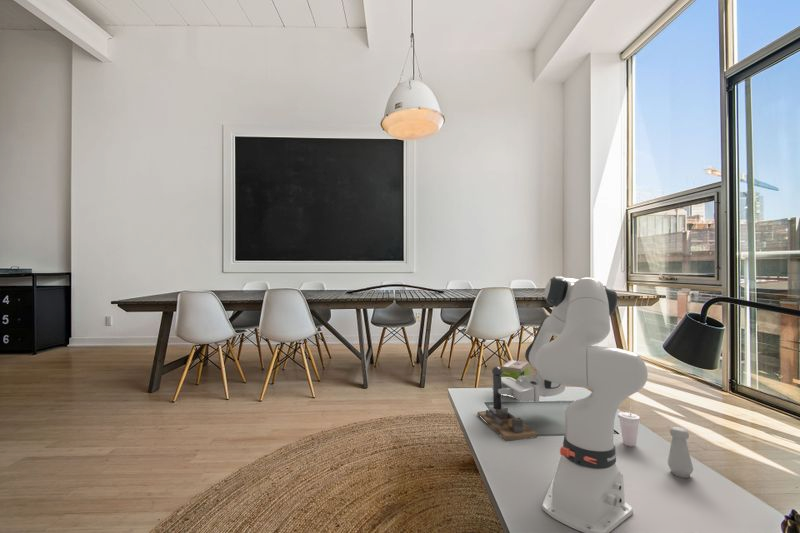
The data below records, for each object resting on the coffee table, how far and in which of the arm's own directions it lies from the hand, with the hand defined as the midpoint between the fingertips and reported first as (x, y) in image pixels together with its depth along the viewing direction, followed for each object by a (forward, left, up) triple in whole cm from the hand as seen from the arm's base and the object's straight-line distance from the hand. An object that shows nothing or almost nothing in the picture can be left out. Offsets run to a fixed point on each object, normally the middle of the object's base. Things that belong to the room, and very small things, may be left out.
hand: (495, 389), depth 141 cm
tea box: (+35, +9, -12) cm, 38 cm away
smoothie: (+14, -43, -12) cm, 47 cm away
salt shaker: (+3, -58, -12) cm, 59 cm away
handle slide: (0, -1, -10) cm, 10 cm away
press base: (-2, -5, -12) cm, 13 cm away
